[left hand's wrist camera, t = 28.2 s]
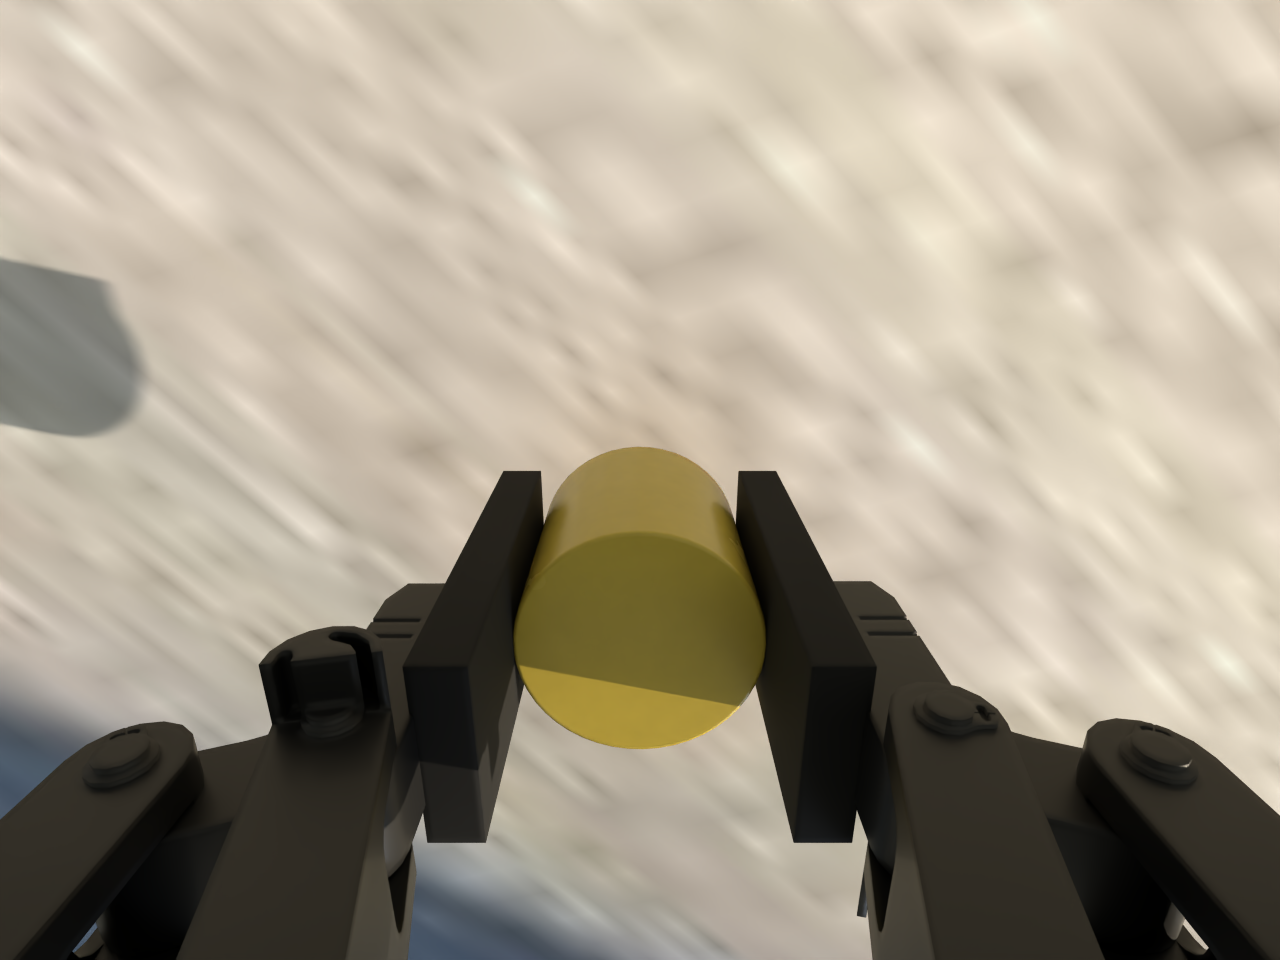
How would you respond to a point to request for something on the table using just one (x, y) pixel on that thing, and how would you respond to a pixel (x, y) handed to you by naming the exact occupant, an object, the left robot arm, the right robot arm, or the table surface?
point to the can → (639, 604)
